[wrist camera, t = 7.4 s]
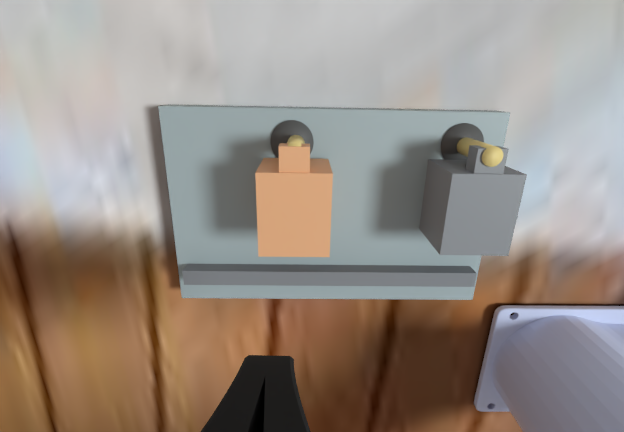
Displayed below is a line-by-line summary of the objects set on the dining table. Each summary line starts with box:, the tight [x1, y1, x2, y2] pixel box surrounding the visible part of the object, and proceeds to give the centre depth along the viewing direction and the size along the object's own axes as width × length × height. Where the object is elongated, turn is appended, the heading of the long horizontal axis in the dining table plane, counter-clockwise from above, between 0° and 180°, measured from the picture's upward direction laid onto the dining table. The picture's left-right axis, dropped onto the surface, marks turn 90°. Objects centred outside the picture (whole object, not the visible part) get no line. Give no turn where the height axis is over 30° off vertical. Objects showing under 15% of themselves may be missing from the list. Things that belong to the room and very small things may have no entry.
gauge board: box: [158, 105, 527, 300], centre depth 17 cm, size 16×10×4 cm, turn 89°
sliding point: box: [255, 135, 333, 257], centre depth 16 cm, size 3×5×3 cm, turn 179°
